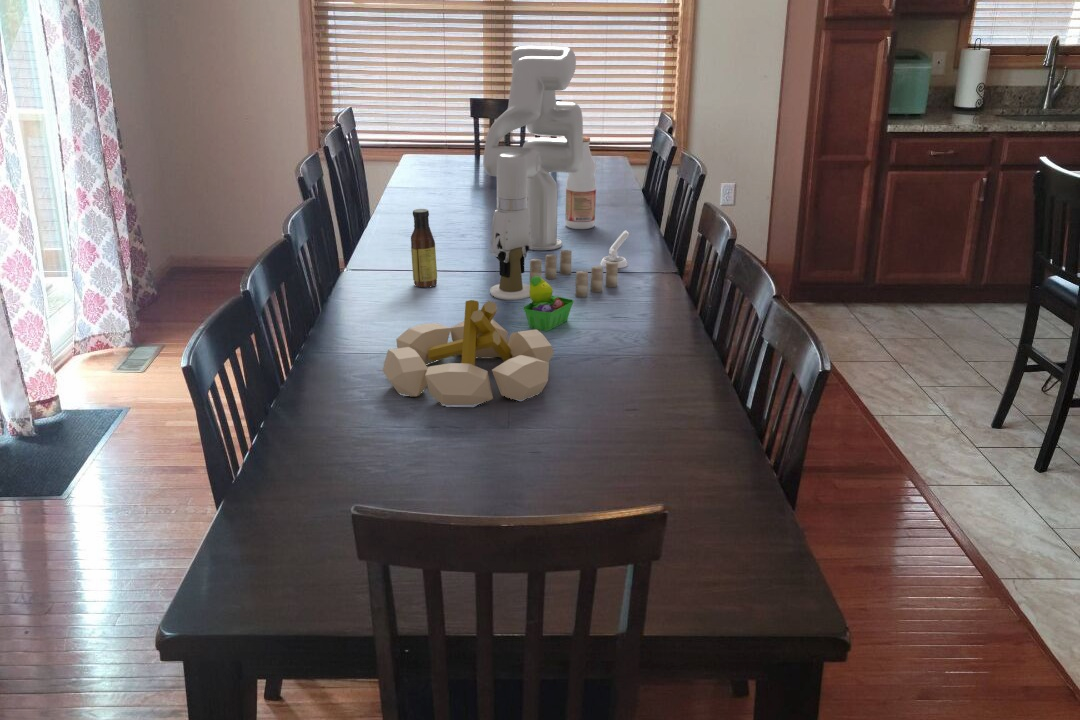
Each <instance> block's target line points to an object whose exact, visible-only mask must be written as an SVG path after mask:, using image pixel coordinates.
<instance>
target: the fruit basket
mask: <svg viewBox="0 0 1080 720" xmlns="http://www.w3.org/2000/svg"><path fill="white" fill-rule="evenodd" d="M529 286H530V291H529V295H530V297H529V298H530V300H531V302H530V303H528V304H525V305H524V306H523V311H524V312H525V316H526V319H527V323H528V326H529V328H531V329H534V330H535V329H537V330H538V331H539V330H540V331H546V332H550V331H551V330H553V329H554V328H556V327H557V326H560V325H562V324H563V323H566V322H567V321H568V319H569V316H570V312H571V308H572V306H573V304H574V300H573V299H571V298H566V297H561V296H558V295H557V296H556V295H553V293H554V290H553V287H552V286H551V284H549V283H548V282H546V280H544V278H542V277H541V278H540V277H539V276H534V277H532V278H531V280H530V279H529ZM552 328H553V329H552Z"/></svg>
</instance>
